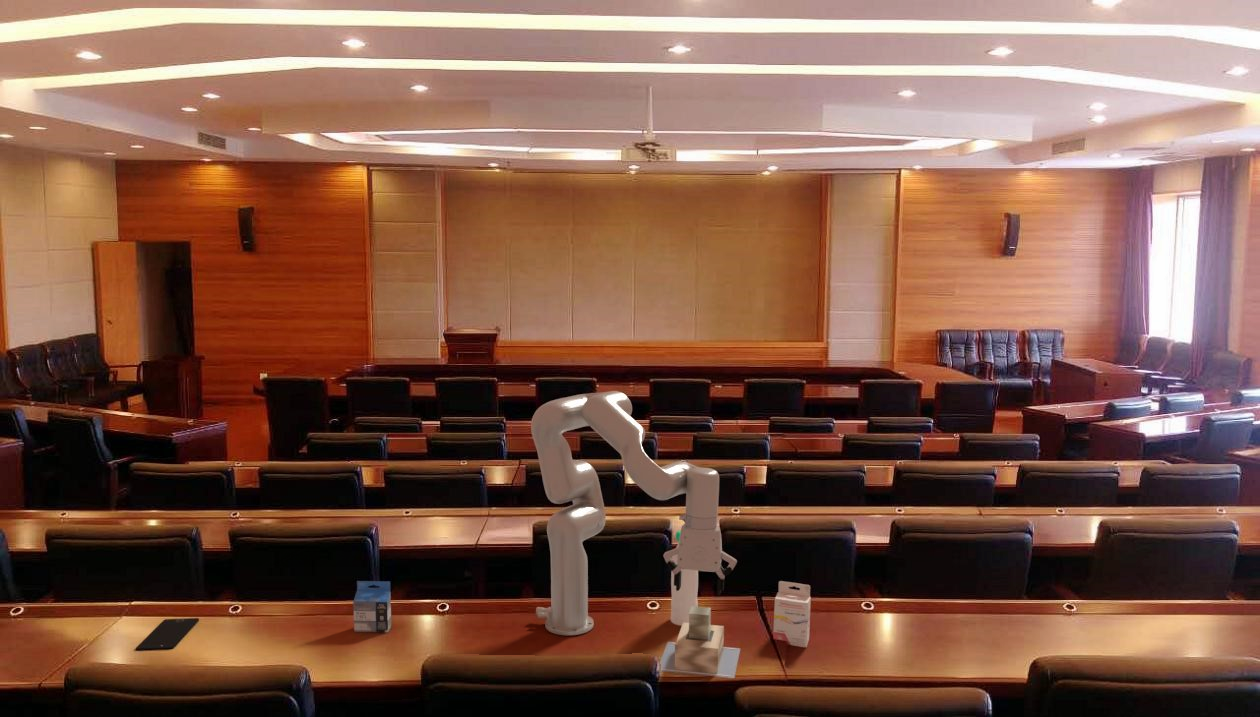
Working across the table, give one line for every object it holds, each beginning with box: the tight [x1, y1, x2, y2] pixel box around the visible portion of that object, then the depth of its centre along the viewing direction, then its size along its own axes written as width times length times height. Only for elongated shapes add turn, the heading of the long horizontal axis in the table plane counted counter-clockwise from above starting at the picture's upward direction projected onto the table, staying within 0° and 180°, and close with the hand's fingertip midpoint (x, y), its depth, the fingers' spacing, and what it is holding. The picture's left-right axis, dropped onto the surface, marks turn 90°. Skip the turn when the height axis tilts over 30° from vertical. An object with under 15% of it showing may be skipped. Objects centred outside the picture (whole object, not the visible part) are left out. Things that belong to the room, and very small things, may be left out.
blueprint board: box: [659, 641, 741, 679], centre depth 221 cm, size 18×16×1 cm
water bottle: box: [670, 529, 699, 627], centre depth 242 cm, size 7×7×25 cm
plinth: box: [675, 622, 725, 673], centre depth 221 cm, size 10×13×6 cm
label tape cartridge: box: [352, 580, 392, 633], centre depth 239 cm, size 9×4×12 cm, turn 90°
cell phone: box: [135, 617, 200, 652], centre depth 236 cm, size 9×18×1 cm, turn 5°
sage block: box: [689, 606, 712, 640], centre depth 220 cm, size 5×5×6 cm
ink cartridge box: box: [772, 580, 812, 648], centre depth 233 cm, size 9×5×15 cm, turn 71°
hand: (698, 590), depth 219 cm, fingers open, 9 cm apart
